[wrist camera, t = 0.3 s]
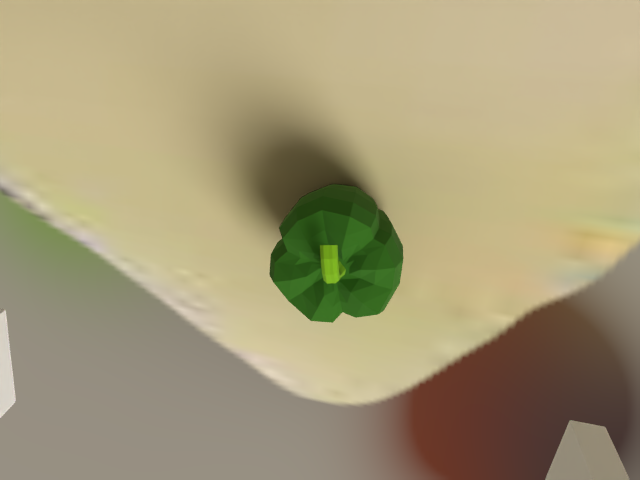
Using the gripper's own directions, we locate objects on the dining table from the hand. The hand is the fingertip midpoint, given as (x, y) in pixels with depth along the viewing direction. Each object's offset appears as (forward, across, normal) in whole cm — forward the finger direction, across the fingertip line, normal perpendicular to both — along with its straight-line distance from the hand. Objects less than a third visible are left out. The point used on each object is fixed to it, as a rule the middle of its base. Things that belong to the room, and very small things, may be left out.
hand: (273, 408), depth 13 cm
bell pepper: (+28, 0, -7) cm, 29 cm away
